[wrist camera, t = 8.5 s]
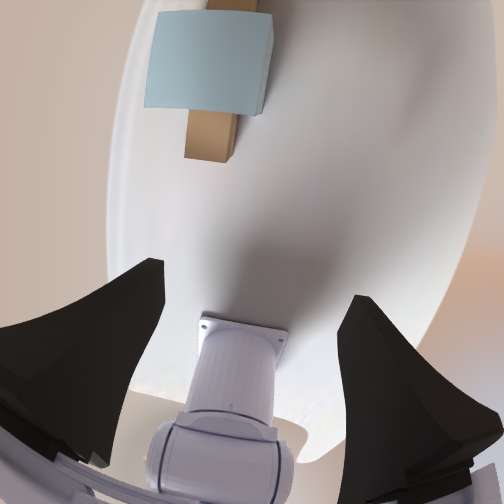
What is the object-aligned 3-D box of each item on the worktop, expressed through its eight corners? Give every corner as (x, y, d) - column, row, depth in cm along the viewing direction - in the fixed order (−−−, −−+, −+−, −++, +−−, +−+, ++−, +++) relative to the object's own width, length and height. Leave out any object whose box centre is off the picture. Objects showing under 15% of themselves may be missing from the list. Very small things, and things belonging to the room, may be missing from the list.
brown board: (232, 154, 17) (224, 164, 15) (196, 150, 17) (181, 159, 15) (261, -13, 11) (258, -31, 9) (223, -15, 11) (214, -33, 9)
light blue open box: (261, 113, 16) (254, 116, 11) (181, 104, 16) (143, 107, 11) (274, 40, 13) (272, 14, 8) (192, 34, 13) (158, 12, 8)
